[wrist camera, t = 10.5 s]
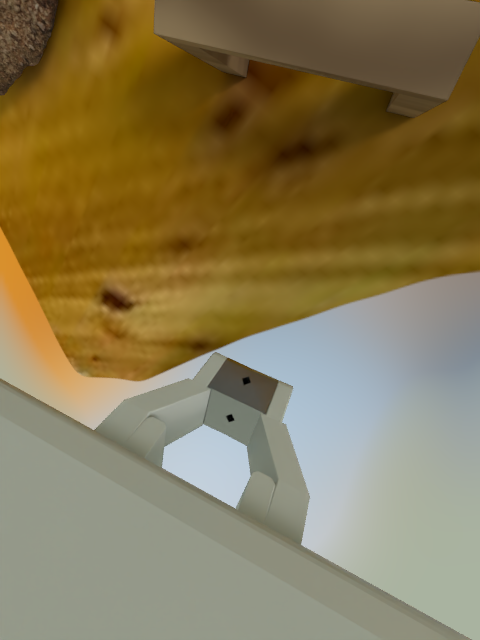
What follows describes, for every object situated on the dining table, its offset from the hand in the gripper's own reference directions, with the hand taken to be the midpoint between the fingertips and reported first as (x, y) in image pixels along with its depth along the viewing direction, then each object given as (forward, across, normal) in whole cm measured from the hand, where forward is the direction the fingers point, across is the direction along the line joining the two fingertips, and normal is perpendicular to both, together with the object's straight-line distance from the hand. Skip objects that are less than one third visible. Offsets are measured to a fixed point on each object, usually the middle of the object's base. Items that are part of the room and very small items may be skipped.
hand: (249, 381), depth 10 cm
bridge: (+20, +5, -11) cm, 24 cm away
